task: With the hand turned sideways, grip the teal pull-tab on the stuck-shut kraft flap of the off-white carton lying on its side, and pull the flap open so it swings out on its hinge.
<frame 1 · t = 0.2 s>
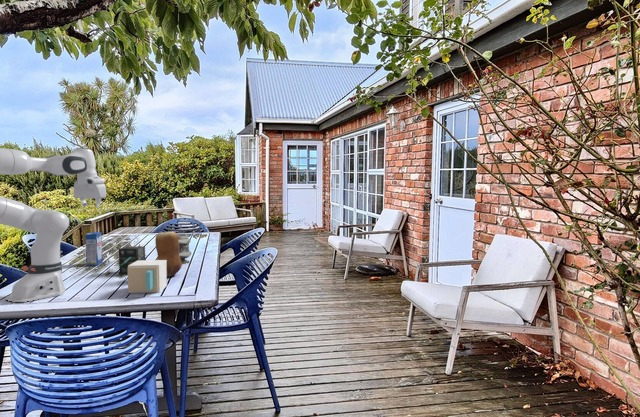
hand: (91, 206, 200), 39 cm above the table, tool pointing down, fingers open, 8 cm apart
apothecary jar: (181, 263, 251), on the table
flap: (141, 280, 178), point 7 cm above the table, hinge at 0.0°
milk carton: (94, 264, 245), on the table
butternut squash: (169, 276, 214), on the table
tampon box: (132, 272, 224), on the table
carton: (148, 289, 188), on the table
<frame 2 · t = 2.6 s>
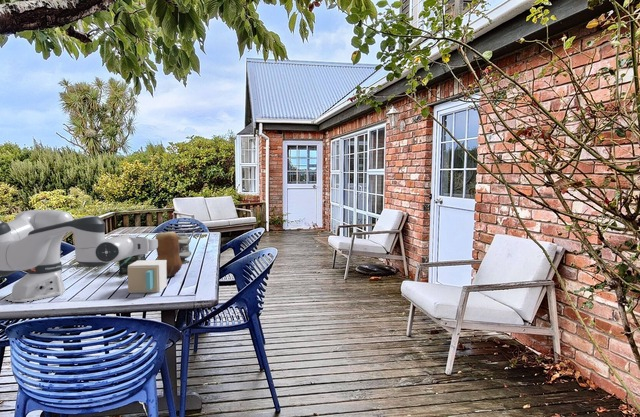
hand: (137, 242, 165), 26 cm above the table, tool horizontal, fingers open, 8 cm apart
nothing on the table moved.
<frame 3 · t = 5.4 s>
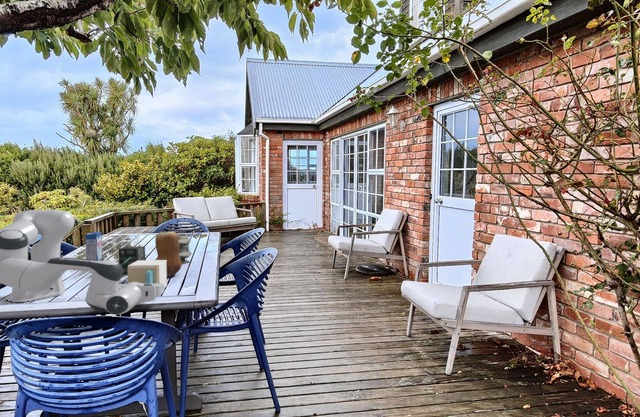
hand: (144, 284, 170), 7 cm above the table, tool horizontal, fingers open, 8 cm apart
nothing on the table moved.
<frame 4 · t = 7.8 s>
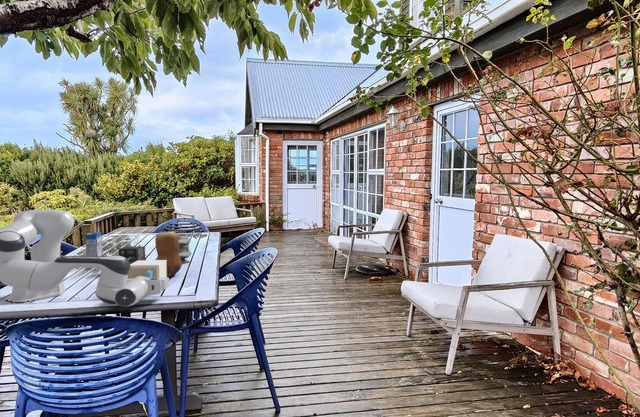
hand: (150, 279, 179), 7 cm above the table, tool horizontal, fingers closed on flap, 2 cm apart
flap: (141, 280, 178), point 7 cm above the table, hinge at 0.1°, touching gripper
everything else where it was.
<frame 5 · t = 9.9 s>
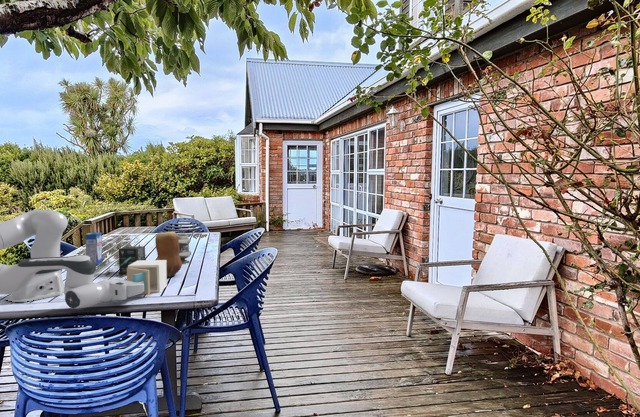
hand: (139, 282, 174), 7 cm above the table, tool horizontal, fingers open, 3 cm apart
flap: (133, 282, 175), point 7 cm above the table, hinge at 29.5°, touching gripper
everything else where it was.
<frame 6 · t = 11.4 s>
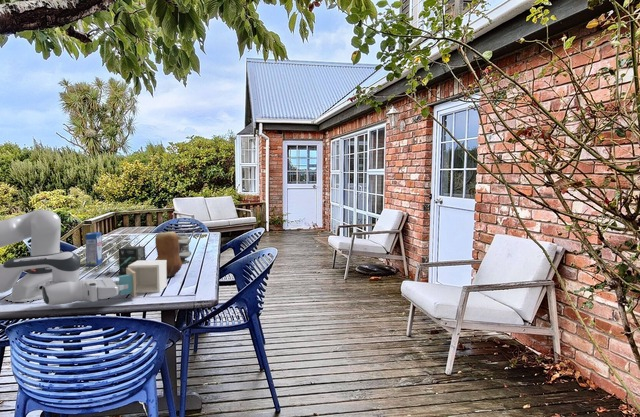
hand: (126, 284, 170), 7 cm above the table, tool horizontal, fingers open, 5 cm apart
flap: (125, 283, 173), point 7 cm above the table, hinge at 56.9°
everything else where it was.
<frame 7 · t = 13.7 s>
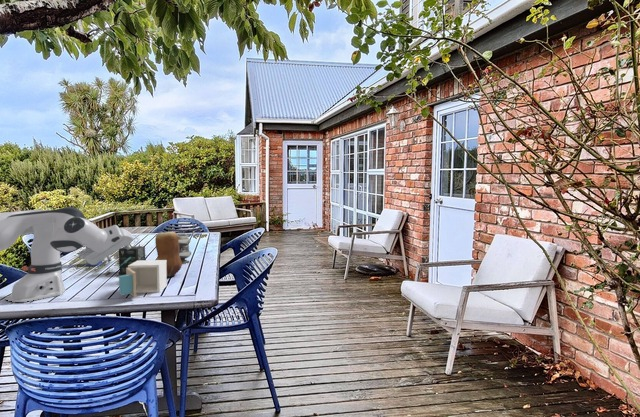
hand: (119, 253, 172), 20 cm above the table, tool tilted 60°, fingers open, 8 cm apart
nothing on the table moved.
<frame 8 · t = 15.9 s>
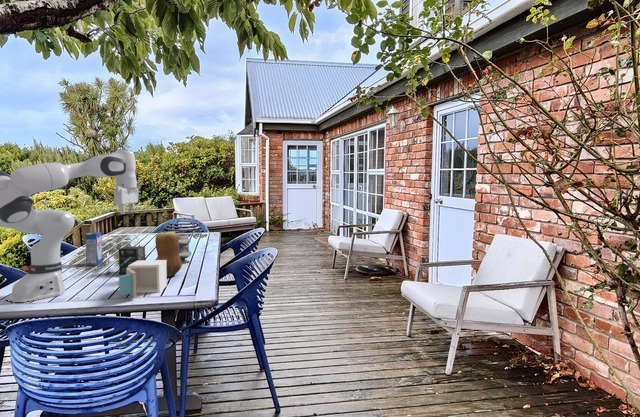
hand: (127, 213, 185), 37 cm above the table, tool pointing down, fingers open, 8 cm apart
nothing on the table moved.
at the end: flap at +57° (first picture: +0°); the gripper is holding nothing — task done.
